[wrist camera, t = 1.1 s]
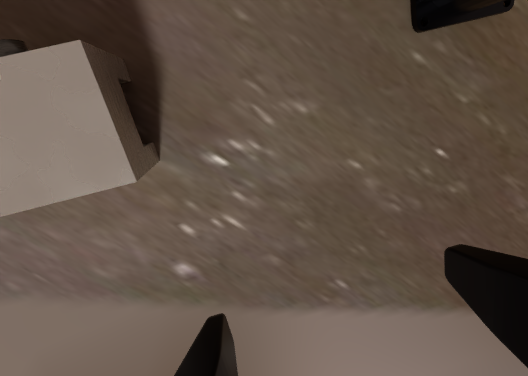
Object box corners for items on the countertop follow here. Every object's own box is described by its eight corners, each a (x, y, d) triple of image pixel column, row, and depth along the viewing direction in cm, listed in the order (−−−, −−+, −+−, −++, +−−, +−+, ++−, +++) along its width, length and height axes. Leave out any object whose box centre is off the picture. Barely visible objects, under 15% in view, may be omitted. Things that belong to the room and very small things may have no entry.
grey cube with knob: (117, 43, 15) (70, 16, 11) (160, 160, 17) (136, 181, 13) (-12, 72, 15) (-123, 57, 10) (47, 189, 17) (-20, 221, 12)
